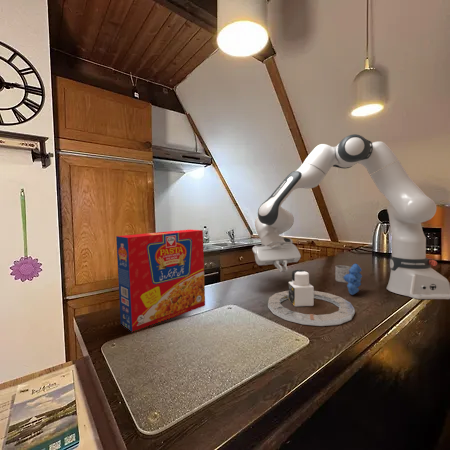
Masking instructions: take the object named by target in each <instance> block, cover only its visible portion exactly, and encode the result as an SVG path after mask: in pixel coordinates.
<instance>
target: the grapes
mask: <svg viewBox="0 0 450 450" xmlns="http://www.w3.org/2000/svg"><path fill="white" fill-rule="evenodd" d="M350 267H351V268H350V269H349V272H350V273H349V274H346V275H345V276H344V277H343V278H344V280H345V281H346V282H347V283H346V287H347V291H348V293H349V294H350V295H352V296H353V295H355V294H357V293H359V291H360V289H359V287H360V286H361V285H362V283H361V281H362V277H363V275H362V274H361V272H362V268H361V267H360V265H359V264H357V263H353V264H352V265H351V266H350Z"/></svg>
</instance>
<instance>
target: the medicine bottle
mask: <svg viewBox="0 0 450 450" xmlns="http://www.w3.org/2000/svg"><path fill="white" fill-rule="evenodd" d="M288 291H289V299H288V300H289V302H290V303H291V305H292V306H294V307H295V308H296V307H313V306H314V304H315V303H314V301H315V300H314V299H315V298H314V291H315V289H314V285H312V284H311V283H310V272H309V271H308V270H305V269H297V270H296V269H295V270H293V271H292V272H291V281H288Z"/></svg>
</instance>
